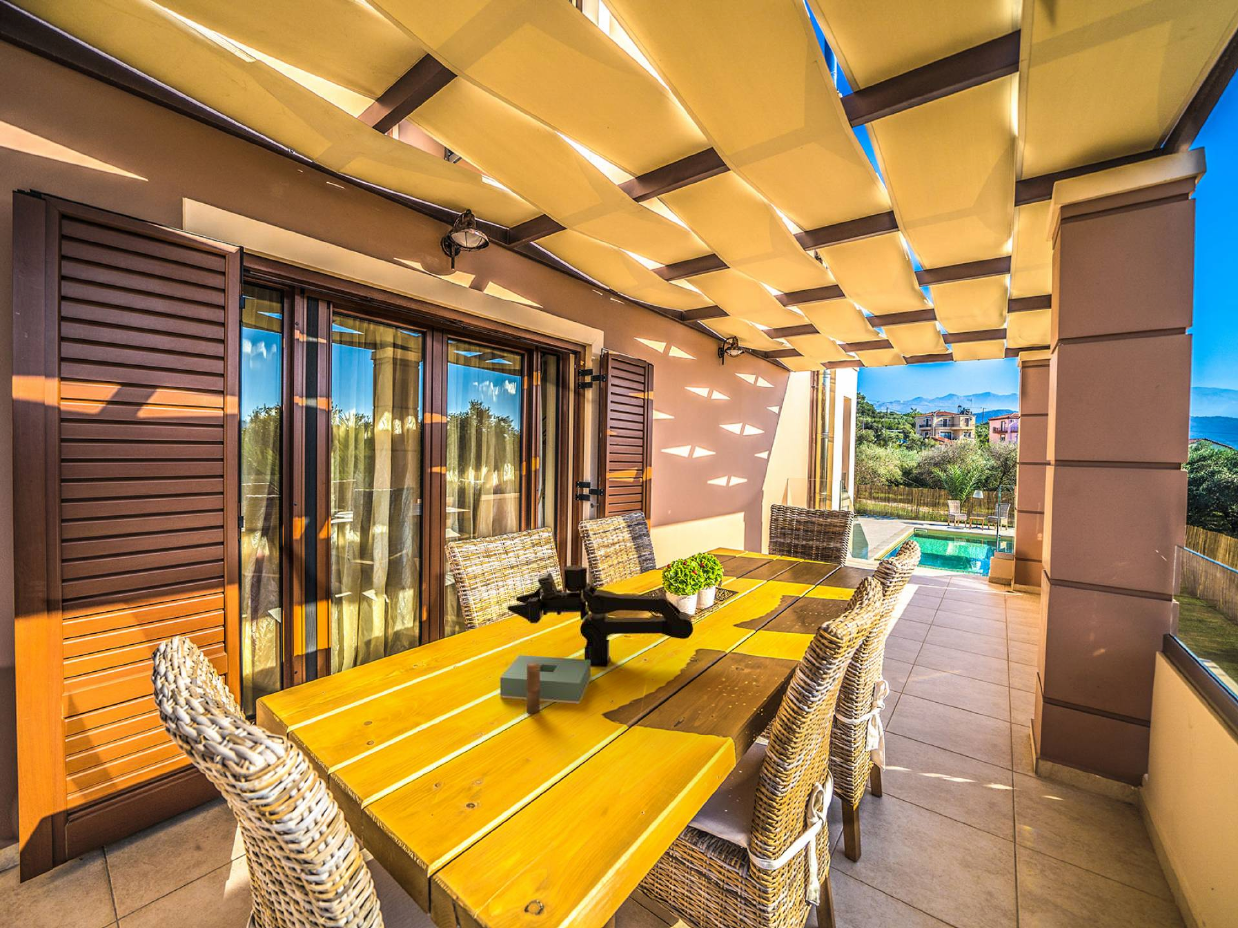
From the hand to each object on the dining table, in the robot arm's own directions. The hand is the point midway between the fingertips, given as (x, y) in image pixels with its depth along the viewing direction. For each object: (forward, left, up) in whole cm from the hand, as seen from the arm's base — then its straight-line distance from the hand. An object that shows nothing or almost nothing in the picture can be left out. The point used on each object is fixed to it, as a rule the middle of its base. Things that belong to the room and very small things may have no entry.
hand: (512, 603), depth 148 cm
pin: (-15, +28, -16) cm, 36 cm away
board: (-15, +16, -16) cm, 28 cm away
